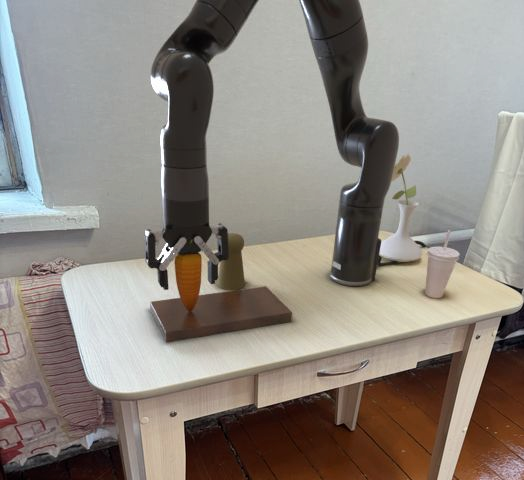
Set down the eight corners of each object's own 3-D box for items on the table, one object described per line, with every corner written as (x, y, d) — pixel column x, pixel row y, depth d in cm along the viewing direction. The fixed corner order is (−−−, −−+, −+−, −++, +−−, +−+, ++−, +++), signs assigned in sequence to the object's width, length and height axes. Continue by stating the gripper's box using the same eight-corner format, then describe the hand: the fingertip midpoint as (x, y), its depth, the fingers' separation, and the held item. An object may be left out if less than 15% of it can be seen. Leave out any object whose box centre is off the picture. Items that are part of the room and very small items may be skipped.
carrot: (181, 319, 90) (178, 238, 82) (172, 308, 94) (168, 228, 86) (207, 314, 92) (206, 234, 84) (197, 303, 96) (195, 226, 88)
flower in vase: (399, 247, 134) (418, 147, 121) (430, 262, 126) (454, 156, 113) (360, 253, 129) (376, 150, 116) (389, 269, 120) (410, 159, 107)
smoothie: (450, 292, 110) (467, 229, 103) (446, 303, 105) (463, 238, 98) (421, 285, 113) (435, 224, 105) (415, 296, 108) (430, 232, 100)
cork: (241, 291, 106) (242, 241, 100) (213, 288, 107) (213, 237, 101) (247, 280, 111) (249, 231, 105) (221, 277, 112) (221, 228, 106)
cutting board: (265, 294, 105) (266, 286, 104) (291, 321, 95) (292, 312, 94) (150, 311, 97) (149, 301, 95) (166, 342, 87) (165, 332, 86)
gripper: (146, 202, 76) (153, 299, 85) (234, 196, 81) (233, 288, 90) (136, 190, 82) (144, 282, 90) (219, 185, 87) (219, 273, 96)
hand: (188, 285), depth 90 cm, fingers open, 8 cm apart
